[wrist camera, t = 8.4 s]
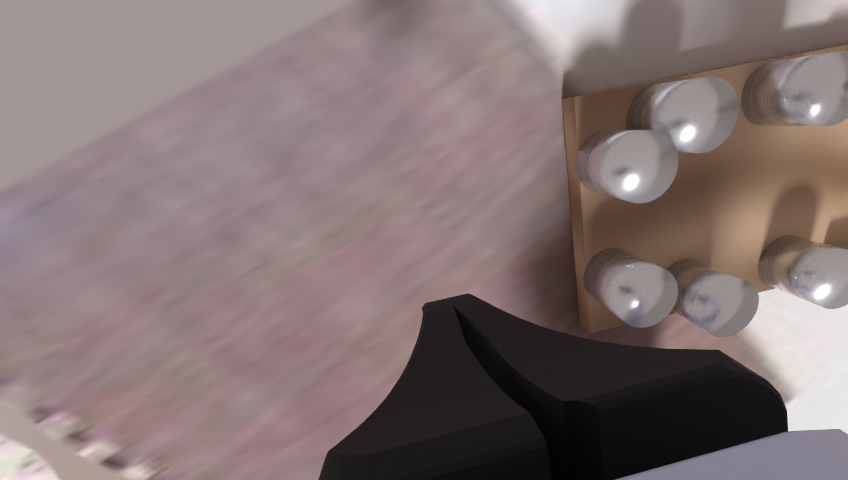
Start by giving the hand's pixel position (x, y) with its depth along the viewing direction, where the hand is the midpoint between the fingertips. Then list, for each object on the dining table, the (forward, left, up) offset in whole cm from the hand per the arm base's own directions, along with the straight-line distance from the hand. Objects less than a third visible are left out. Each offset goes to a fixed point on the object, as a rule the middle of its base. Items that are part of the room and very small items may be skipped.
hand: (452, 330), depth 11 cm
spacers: (-1, -15, -9) cm, 17 cm away
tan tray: (-1, -20, -10) cm, 22 cm away
